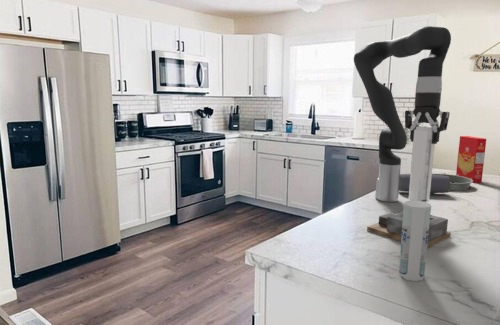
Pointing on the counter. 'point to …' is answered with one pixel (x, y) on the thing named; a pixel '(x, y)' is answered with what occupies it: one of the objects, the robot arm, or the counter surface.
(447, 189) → the bluetooth speaker
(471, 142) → the food packaging
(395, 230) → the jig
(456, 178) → the cake pan
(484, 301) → the counter surface
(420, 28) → the robot arm
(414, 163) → the paper towel roll
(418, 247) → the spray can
